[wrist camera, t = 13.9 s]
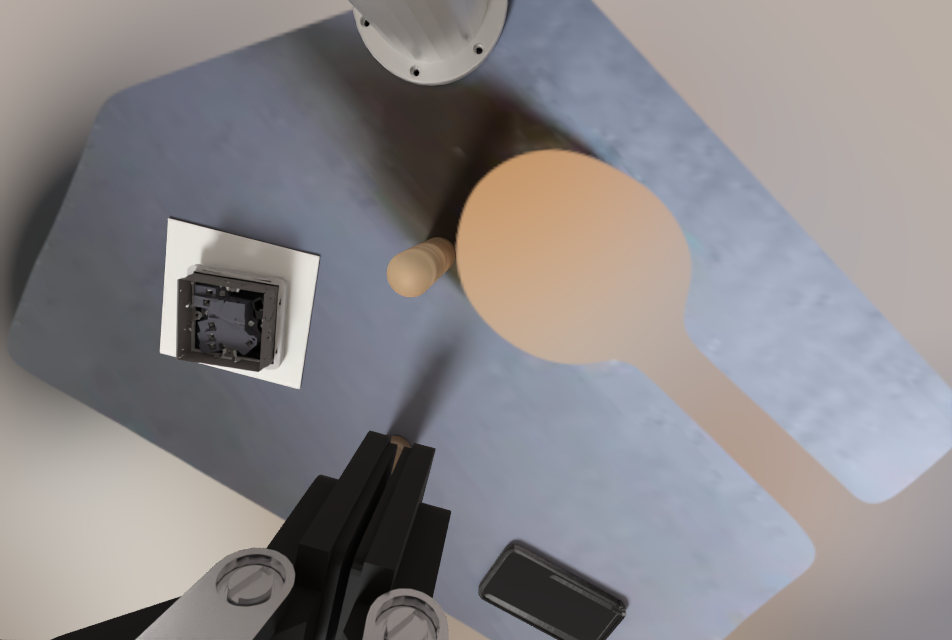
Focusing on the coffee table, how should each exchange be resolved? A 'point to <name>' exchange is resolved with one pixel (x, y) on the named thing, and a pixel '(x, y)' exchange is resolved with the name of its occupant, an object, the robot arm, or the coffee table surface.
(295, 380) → the mat
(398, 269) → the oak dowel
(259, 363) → the electrical switch
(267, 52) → the coffee table surface
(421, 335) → the coffee table surface
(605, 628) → the phone
